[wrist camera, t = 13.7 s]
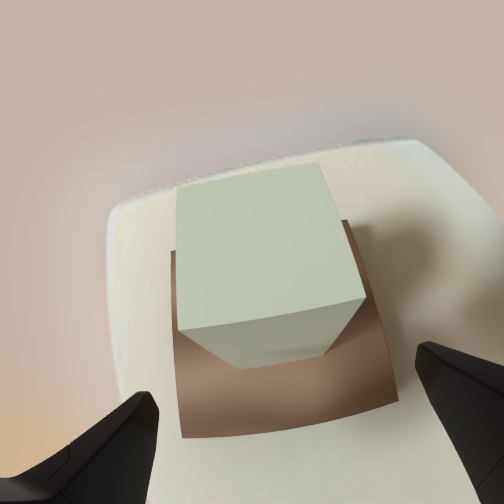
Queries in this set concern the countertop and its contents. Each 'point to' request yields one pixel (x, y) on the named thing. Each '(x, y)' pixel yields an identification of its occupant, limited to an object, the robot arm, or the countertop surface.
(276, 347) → the sage block
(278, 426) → the walnut stand
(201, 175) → the countertop surface
